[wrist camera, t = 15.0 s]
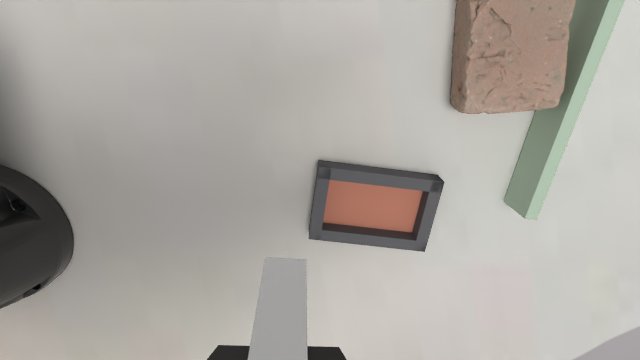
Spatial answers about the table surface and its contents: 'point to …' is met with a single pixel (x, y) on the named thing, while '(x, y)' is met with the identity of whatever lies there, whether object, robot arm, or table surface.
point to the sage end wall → (562, 106)
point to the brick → (509, 54)
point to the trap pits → (374, 206)
